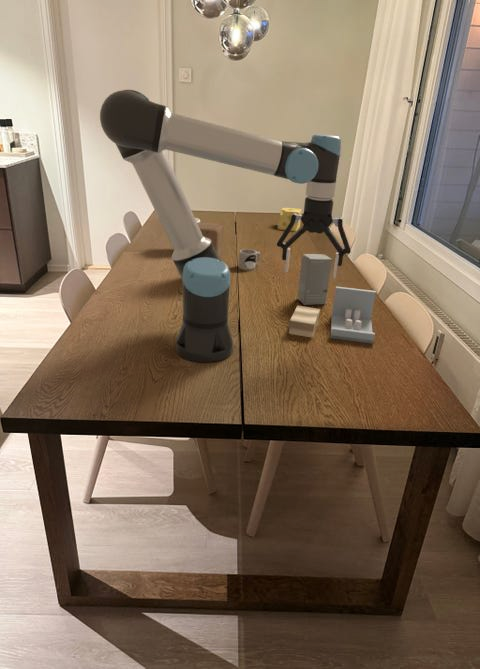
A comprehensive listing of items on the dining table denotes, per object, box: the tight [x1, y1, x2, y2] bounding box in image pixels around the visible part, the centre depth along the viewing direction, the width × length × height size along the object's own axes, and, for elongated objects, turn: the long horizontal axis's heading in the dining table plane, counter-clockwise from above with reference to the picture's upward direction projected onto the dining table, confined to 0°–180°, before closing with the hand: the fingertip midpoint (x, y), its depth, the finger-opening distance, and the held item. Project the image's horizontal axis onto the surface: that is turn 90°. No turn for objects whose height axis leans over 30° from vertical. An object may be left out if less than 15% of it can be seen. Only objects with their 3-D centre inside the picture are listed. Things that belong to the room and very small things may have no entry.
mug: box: [238, 248, 261, 271], centre depth 193 cm, size 10×7×7 cm, turn 129°
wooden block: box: [197, 221, 224, 262], centre depth 173 cm, size 10×10×20 cm
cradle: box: [330, 285, 377, 345], centre depth 144 cm, size 16×12×10 cm
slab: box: [288, 304, 321, 339], centre depth 145 cm, size 12×7×4 cm, turn 164°
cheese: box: [277, 207, 303, 233], centre depth 254 cm, size 10×11×10 cm
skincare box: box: [296, 253, 333, 306], centre depth 162 cm, size 8×7×16 cm
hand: (310, 273), depth 139 cm, fingers open, 13 cm apart
